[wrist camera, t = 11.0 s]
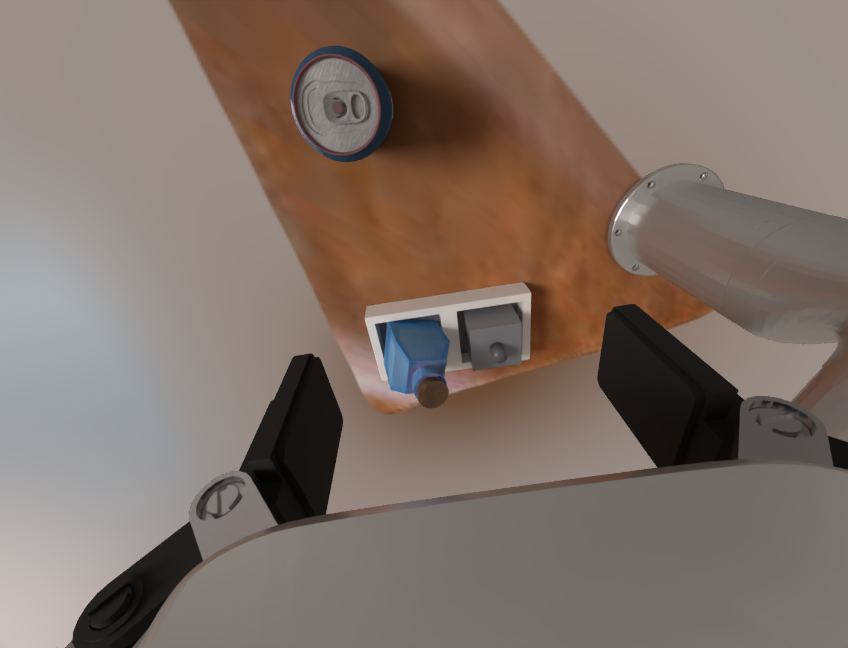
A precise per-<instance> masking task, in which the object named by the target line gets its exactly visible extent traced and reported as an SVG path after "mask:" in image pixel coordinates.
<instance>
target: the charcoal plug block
mask: <svg viewBox="0 0 848 648" xmlns="http://www.w3.org/2000/svg"><path fill="white" fill-rule="evenodd" d="M463 314H464V325H465V335H466V345H467V350H468V354H469V358H470V361H471V365H472V369H473V371H475V370H482V369H489V368H496V367H503V366H509V365H516V364H521V361H522V322H521V321H520V319H519V317H518V315H517V313H516V312H515V310H514V308H513V306H512V305H511V303H509V304H502V305H495V306H489V307H482V308H476V309H469V310H463Z"/></svg>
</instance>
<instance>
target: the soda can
mask: <svg viewBox="0 0 848 648" xmlns="http://www.w3.org/2000/svg"><path fill="white" fill-rule="evenodd" d="M291 107H292V112H293V116H294V119H295V122H296V125H297V127H298V129H299V131H300V132H301V134H302V136H303V137H304V138H305V140H306V141H307V142H308V143H309V144H310V145H311V146H312V147H313V148H314V149H315V150H316V151H317V152H319V153H320V154H322V155H323V156H325V157H327V158H330V159H332V160H336V161H341V162H352V161H357V160H361V159H363V158H365V157H367V156H369V155H370V154H372V153H373V152H374V151H375V150H376V149H377V148H378V147H379V146H380V144H381V143H382V141H383V140H384V138H385V137H386V136H387V134H388V132H389V130H390V128H391V125H392V121H393V114H394V107H393V100H392V96H391V93H390V90H389V88H388V86H387V84H386V82H385V81H384V79H383V78H382V76H381V75H380V73H379V72H378V70H377V69H376V68H375V66H374V65H373V64H372V63H371V62H370V61H369V60H368V59H367V58H366V57H364V56H363V55H361V54H360V53H358V52H356V51H354V50H352V49H350V48H346V47H342V46H327V47H323V48H320V49H318V50H316V51H314V52H312V53H311V54H309V55H308V56H307V57H306V58H305V59H304V60H303V61H302V63H301V64H300V65H299V67H298V69H297V71H296V73H295V75H294V78H293V82H292V87H291Z"/></svg>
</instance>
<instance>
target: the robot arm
mask: <svg viewBox="0 0 848 648" xmlns="http://www.w3.org/2000/svg"><path fill="white" fill-rule="evenodd" d="M608 247H609V251H610V253H611V255H612V257H613V259H614V260H615V261H616V263H617V264H618V265H619V266H621V267H622V268H624V269H625V270H626V271H628V272H630V273H633V274H637V275H641V276H653V275H660V276H662V277H663V278H665V279H667V280H668V281H670V282H671V283H673V284H674V285H676V286H677V287H679V288H681V289H682V290H684V291H685V292H687V293H688V294H690V295H692V296H693V297H695V298H696V299H698V300H699V301H701V302H702V303H704V304H706V305H707V306H709V307H710V308H712V309H713V310H715V311H716V312H718V313H720V314H721V315H723V316H724V317H726V318H727V319H729V320H731V321H732V322H734V323H736V324H737V325H739V326H740V327H742V328H743V329H745V330H747V331H748V332H750V333H752V334H754V335H757V336H759V337H762V338H765V339H768V340H772V341H776V342H782V343H793V344H821V343H837V342H838V346H837V348H836V350H835V351H834V353H833V354H832V355H831V356H830V357H829V359H828V360H827V361H826V362H825V363H824V364H823V366H822V368H821V369H820V370H819V372H818V373H817V374H816V375H815V376H814V377H813V378H812V379H811V380H810V381H809V382H808V384H807V385H806V386H805V387H804V388H803V389H802V390H801V391H800V392H799V393H798V394H797V395H796V396H795V398H794V399H793V400H792V401H791V402H789V401H786V400H783V399H780V398H775V397H769V396H755V397H750V398H747V399H746V400H744V399H743V398H741V397H740V396H739V395H738V394H737V392H738V389H736V388H735V387H734V386H733V385H732V384H730V383H729V382H728V381H727V380H726V379H724V378H723V377H722V376H721V375H720V374H718V373H717V372H716V371H715V370H714V369H712V368H711V367H710V366H709V365H708V364H706V363H705V362H704V361H703V360H702V359H700V358H699V357H698V356H697V355H696V354H694V353H693V352H692V351H691V350H690V349H688V348H687V347H686V346H685V345H683V344H682V343H681V342H680V341H679V340H678V339H676V338H675V337H674V336H673V335H672V334H670V333H669V332H668V331H667V330H666V329H664V328H663V327H662V326H661V325H660V324H658V323H657V322H656V321H655V320H654V319H652V318H651V317H650V316H649V315H648V314H646V313H645V312H644V311H643V310H642V309H640V308H639V307H638V306H637V305H635V304H629V305H623V306H616V307H614V308H613V309H612V311H611V312H609V313H608V314H607V316H606V322H605V329H604V336H603V342H602V349H601V356H600V363H599V369H598V377H597V378H598V383H599V385H600V388H601V389H602V390H603V392H604V393H605V395H606V396H607V398H608V399H609V400H610V402H611V403H612V405H613V406H614V407H615V409H616V410H617V412H618V413H619V414H620V416H621V417H622V419H623V420H624V421H625V423H626V424H627V425H628V427H629V428H630V430H631V431H632V433H633V434H634V435H635V437H636V438H637V440H638V441H639V442H640V444H641V445H642V447H643V448H644V449H645V451H646V452H647V454H648V455H649V456H650V458H651V459H652V461H653V462H654V463H655V465H656V466H657V468H652V469H644V470H636V471H630V472H622V473H614V474H606V475H599V476H591V477H584V478H576V479H569V480H561V481H554V482H547V483H539V484H532V485H525V486H518V487H510V488H503V489H496V490H489V491H482V492H474V493H467V494H460V495H453V496H446V497H440V498H432V499H425V500H419V501H411V502H405V503H397V504H390V505H383V506H377V507H371V508H364V509H358V510H351V511H345V512H339V513H333V514H326V510H327V505H328V499H329V494H330V489H331V484H332V479H333V473H334V468H335V463H336V458H337V453H338V447H339V442H340V437H341V431H342V426H343V418H342V414H341V411H340V408H339V406H338V403H337V401H336V398H335V396H334V393H333V390H332V388H331V386H330V383H329V380H328V377H327V375H326V372H325V370H324V367H323V364H322V362H321V360H320V358H319V357H314V355H313V354H305V355H299V356H294V357H293V358H292V361H291V363H290V365H289V367H288V369H287V372H286V374H285V376H284V378H283V381H282V383H281V385H280V387H279V390H278V392H277V394H276V396H275V399H274V400H272V401H271V403H270V404H269V406H268V408H267V410H266V413H265V415H264V417H263V419H262V422H261V424H260V426H259V428H258V430H257V432H256V435H255V437H254V439H253V441H252V444H251V446H250V448H249V450H248V452H247V454H246V457H245V459H244V461H243V463H242V465H241V468H240V470H239V471H232V472H229V473H226V474H223V475H221V476H219V477H217V478H215V479H213V480H212V481H211V482H210V483H208V484H207V485H206V486H205V487H204V488H203V489H202V490H201V491H200V492H199V493H198V494H197V496H196V497H195V499H194V500H193V502H192V504H191V507H190V510H189V519H190V521H189V522H188V523H187V524H186V525H185V526H183V527H182V528H181V529H179V530H178V531H176V532H175V533H174V534H173V535H171V536H170V537H169V538H167V539H166V540H165V541H164V542H162V543H161V544H160V545H158V546H157V547H156V548H154V549H153V550H152V551H150V552H149V553H148V554H147V555H145V556H144V557H143V558H142V559H140V560H139V561H137V562H136V563H135V564H133V565H132V566H131V567H130V568H129V569H127V570H126V571H124V572H123V573H122V574H120V575H119V576H118V577H116V578H115V579H114V580H113V581H111V582H110V583H109V584H108V585H107V586H106V587H104V588H103V589H102V590H101V591H100V592H99V593H97V595H96V596H95V597H94V598H93V599H92V600H91V602H90V603H89V604H88V605H87V606H86V608H85V609H84V611H83V613H82V614H81V616H80V617H79V619H78V621H77V624H76V626H75V629H74V631H73V640H72V641H71V642H70V643H69V644H68V645H67V646H66V647H65V648H848V219H845V218H841V217H837V216H831V215H827V214H823V213H819V212H815V211H811V210H807V209H803V208H799V207H795V206H790V205H786V204H782V203H778V202H774V201H770V200H766V199H762V198H758V197H754V196H749V195H746V194H741V193H738V192H733V191H729V190H725V189H724V186H723V183H722V182H721V180H720V179H719V177H718V176H717V175H716V174H715V173H714V172H713V171H712V170H710V169H708V168H705V167H703V166H700V165H695V164H683V163H680V164H674V165H669V166H666V167H663V168H660V169H658V170H656V171H654V172H652V173H650V174H648V175H647V176H645V177H644V178H643V179H641V180H640V181H639V182H637V183H636V184H635V185H634V186H633V187H632V188H631V189H630V190H629V191H628V192H627V193H626V194H625V196H624V197H623V198H622V200H621V201H620V202H619V204H618V206H617V208H616V209H615V211H614V213H613V216H612V218H611V221H610V224H609V229H608Z"/></svg>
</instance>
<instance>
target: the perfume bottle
mask: <svg viewBox="0 0 848 648" xmlns="http://www.w3.org/2000/svg"><path fill="white" fill-rule="evenodd" d="M449 345H450V340H449V339H448V337H447V336H446V335H445V333H444V332H443V330H442V329H441V327H440V326H439V324H438V323H437V322H436V320H410V319H404V320H397V321H390V322H387V331H386V342H385V353H384V366H385V370H386V374H387V377H388V381H389V385H390V389H391V390H394V391H397V392H401V393H405V394H409V393H414V394H415V396H416V398H417V399H418V401H419V403H420V404H421V405H422V406H423V407H426V408H436V407H438V406H441V405H442V404H443V403H444V402H445V401H446V400H447V398H448V395H449V390H448V387H447V386H446V381H445V379H444V375H445V369H446V363H447V357H448V351H449Z"/></svg>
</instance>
